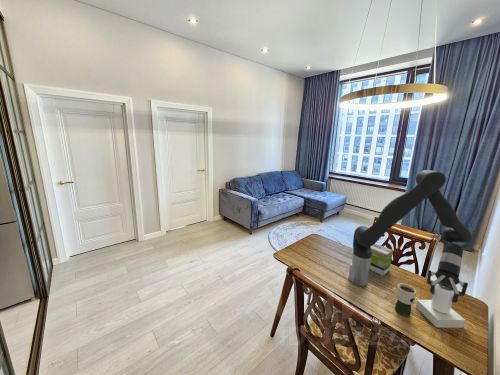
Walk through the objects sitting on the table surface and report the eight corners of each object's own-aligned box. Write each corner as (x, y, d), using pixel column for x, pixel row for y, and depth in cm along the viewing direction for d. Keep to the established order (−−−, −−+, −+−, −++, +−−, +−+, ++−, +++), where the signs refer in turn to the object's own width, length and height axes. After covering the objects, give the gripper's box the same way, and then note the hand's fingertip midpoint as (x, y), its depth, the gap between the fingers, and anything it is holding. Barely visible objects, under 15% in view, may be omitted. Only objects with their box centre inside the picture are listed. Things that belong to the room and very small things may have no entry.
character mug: (408, 322, 96) (413, 298, 93) (390, 313, 101) (394, 289, 98) (414, 310, 103) (418, 286, 100) (396, 302, 108) (400, 279, 105)
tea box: (358, 265, 140) (361, 244, 137) (365, 260, 146) (368, 240, 143) (383, 276, 129) (387, 254, 125) (390, 270, 135) (393, 249, 131)
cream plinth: (436, 327, 93) (438, 319, 93) (415, 306, 105) (417, 299, 104) (463, 327, 93) (465, 320, 93) (439, 306, 105) (441, 300, 104)
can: (452, 315, 95) (458, 292, 92) (436, 313, 96) (441, 290, 93) (443, 304, 101) (448, 282, 98) (427, 302, 102) (432, 280, 100)
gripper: (430, 256, 104) (422, 288, 98) (472, 268, 94) (466, 305, 88) (429, 261, 109) (422, 292, 103) (469, 273, 99) (463, 309, 93)
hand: (442, 298), depth 96 cm, fingers open, 6 cm apart
